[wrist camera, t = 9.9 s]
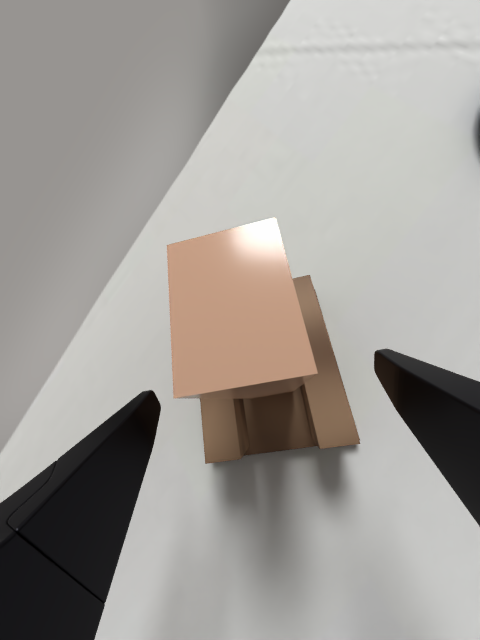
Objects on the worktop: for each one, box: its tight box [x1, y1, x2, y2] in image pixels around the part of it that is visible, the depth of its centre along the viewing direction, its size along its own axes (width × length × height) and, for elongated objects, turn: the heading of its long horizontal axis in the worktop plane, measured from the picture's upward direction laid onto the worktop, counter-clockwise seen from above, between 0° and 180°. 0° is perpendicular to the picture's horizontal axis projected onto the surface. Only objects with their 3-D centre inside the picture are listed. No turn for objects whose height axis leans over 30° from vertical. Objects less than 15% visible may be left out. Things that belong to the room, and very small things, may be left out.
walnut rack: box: [200, 275, 360, 464], centre depth 16 cm, size 11×10×4 cm
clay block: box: [167, 217, 318, 399], centre depth 11 cm, size 4×3×12 cm
